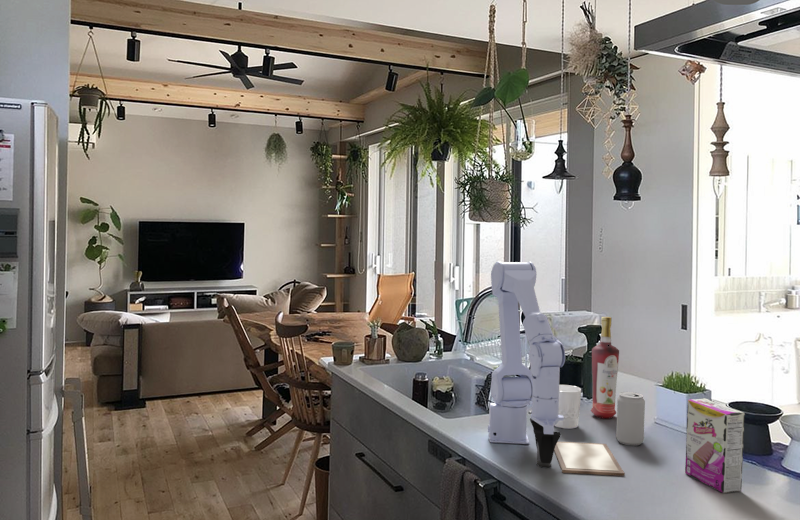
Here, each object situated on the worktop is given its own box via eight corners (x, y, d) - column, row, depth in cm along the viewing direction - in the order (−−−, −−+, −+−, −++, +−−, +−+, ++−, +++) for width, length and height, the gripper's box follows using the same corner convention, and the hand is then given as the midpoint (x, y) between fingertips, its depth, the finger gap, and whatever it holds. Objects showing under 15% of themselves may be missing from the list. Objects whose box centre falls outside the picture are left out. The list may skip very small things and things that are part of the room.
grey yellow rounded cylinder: (537, 467, 143) (538, 435, 143) (536, 462, 146) (536, 431, 146) (551, 467, 143) (552, 436, 142) (549, 462, 146) (550, 432, 145)
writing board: (562, 472, 140) (562, 469, 140) (551, 443, 159) (551, 440, 159) (624, 475, 139) (624, 472, 139) (606, 446, 158) (606, 443, 157)
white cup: (578, 421, 177) (579, 385, 177) (581, 430, 170) (582, 392, 169) (549, 419, 179) (550, 383, 178) (550, 428, 171) (551, 390, 171)
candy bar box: (683, 474, 140) (686, 398, 140) (702, 471, 142) (705, 397, 141) (722, 494, 130) (725, 413, 129) (742, 492, 131) (746, 411, 130)
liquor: (598, 420, 178) (601, 319, 177) (584, 413, 186) (587, 315, 184) (622, 419, 180) (625, 318, 179) (607, 412, 187) (611, 315, 186)
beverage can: (645, 447, 157) (647, 398, 156) (617, 445, 158) (619, 396, 158) (641, 439, 163) (642, 392, 163) (614, 437, 165) (616, 390, 164)
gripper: (569, 405, 136) (567, 469, 137) (559, 388, 150) (557, 446, 151) (534, 404, 137) (533, 467, 137) (528, 387, 151) (527, 444, 152)
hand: (543, 456), depth 144 cm, fingers open, 7 cm apart
